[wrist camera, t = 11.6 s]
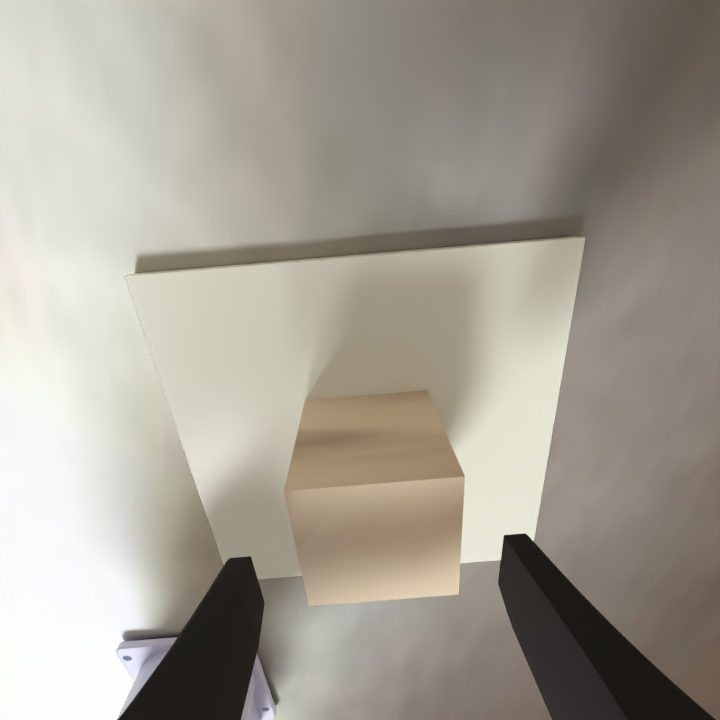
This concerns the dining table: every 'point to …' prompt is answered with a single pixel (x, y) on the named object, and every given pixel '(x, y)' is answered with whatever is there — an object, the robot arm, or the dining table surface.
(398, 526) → the cube
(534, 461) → the pad
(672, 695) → the robot arm
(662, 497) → the dining table surface
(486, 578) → the dining table surface
